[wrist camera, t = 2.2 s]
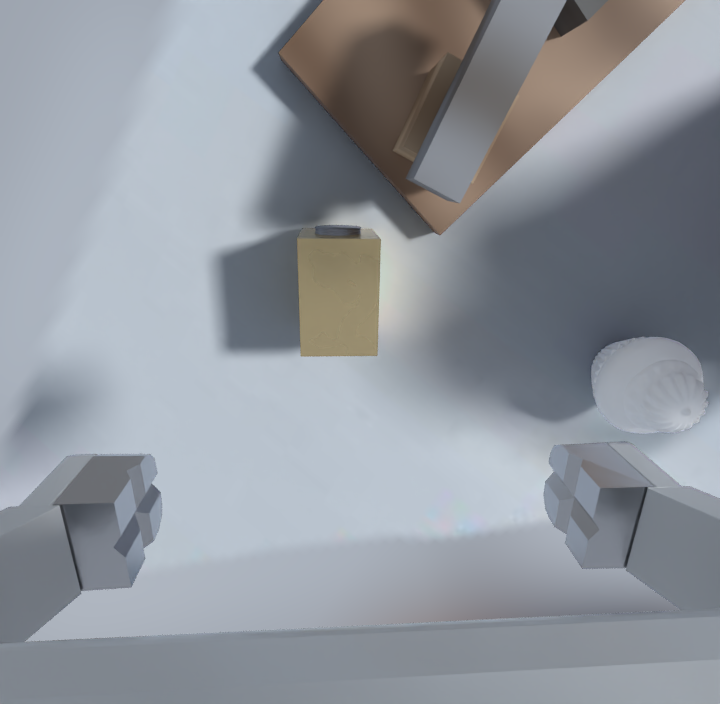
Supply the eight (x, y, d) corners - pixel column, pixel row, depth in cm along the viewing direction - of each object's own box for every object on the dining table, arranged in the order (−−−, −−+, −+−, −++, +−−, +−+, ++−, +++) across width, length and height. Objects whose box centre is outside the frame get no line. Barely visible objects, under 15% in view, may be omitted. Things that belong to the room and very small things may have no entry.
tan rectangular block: (302, 222, 27) (296, 232, 22) (371, 223, 27) (380, 232, 22) (305, 332, 29) (300, 361, 24) (369, 331, 29) (377, 361, 25)
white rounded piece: (655, 307, 30) (747, 344, 23) (664, 389, 32) (750, 444, 25) (561, 338, 30) (625, 382, 24) (575, 417, 32) (638, 478, 26)
